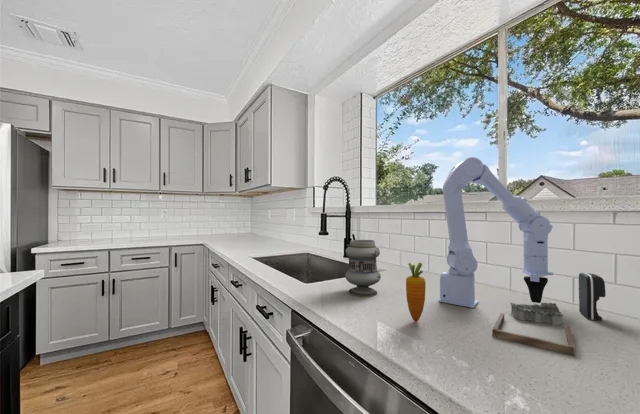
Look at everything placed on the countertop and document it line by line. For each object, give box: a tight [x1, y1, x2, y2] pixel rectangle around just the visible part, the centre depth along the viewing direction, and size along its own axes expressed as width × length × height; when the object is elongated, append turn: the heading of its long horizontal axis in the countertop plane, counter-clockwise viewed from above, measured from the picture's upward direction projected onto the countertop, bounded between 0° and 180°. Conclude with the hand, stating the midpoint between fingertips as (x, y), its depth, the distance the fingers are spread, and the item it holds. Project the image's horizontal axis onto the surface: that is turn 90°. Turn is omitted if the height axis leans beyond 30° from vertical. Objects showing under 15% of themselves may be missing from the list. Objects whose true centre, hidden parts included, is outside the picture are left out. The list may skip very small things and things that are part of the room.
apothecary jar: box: [344, 239, 381, 298], centre depth 98 cm, size 12×12×18 cm
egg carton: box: [509, 302, 564, 326], centre depth 75 cm, size 11×8×4 cm
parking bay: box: [491, 312, 576, 357], centre depth 64 cm, size 14×14×2 cm
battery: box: [578, 272, 607, 321], centre depth 76 cm, size 7×4×11 cm, turn 153°
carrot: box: [405, 262, 426, 323], centre depth 71 cm, size 5×5×15 cm
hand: (536, 302), depth 84 cm, fingers closed
